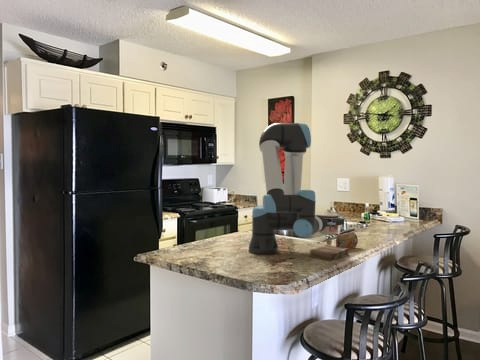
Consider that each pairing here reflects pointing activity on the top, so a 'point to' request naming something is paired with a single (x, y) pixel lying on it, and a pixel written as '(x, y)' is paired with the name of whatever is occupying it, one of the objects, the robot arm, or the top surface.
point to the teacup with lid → (330, 229)
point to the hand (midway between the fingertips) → (333, 218)
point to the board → (328, 252)
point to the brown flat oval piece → (347, 240)
